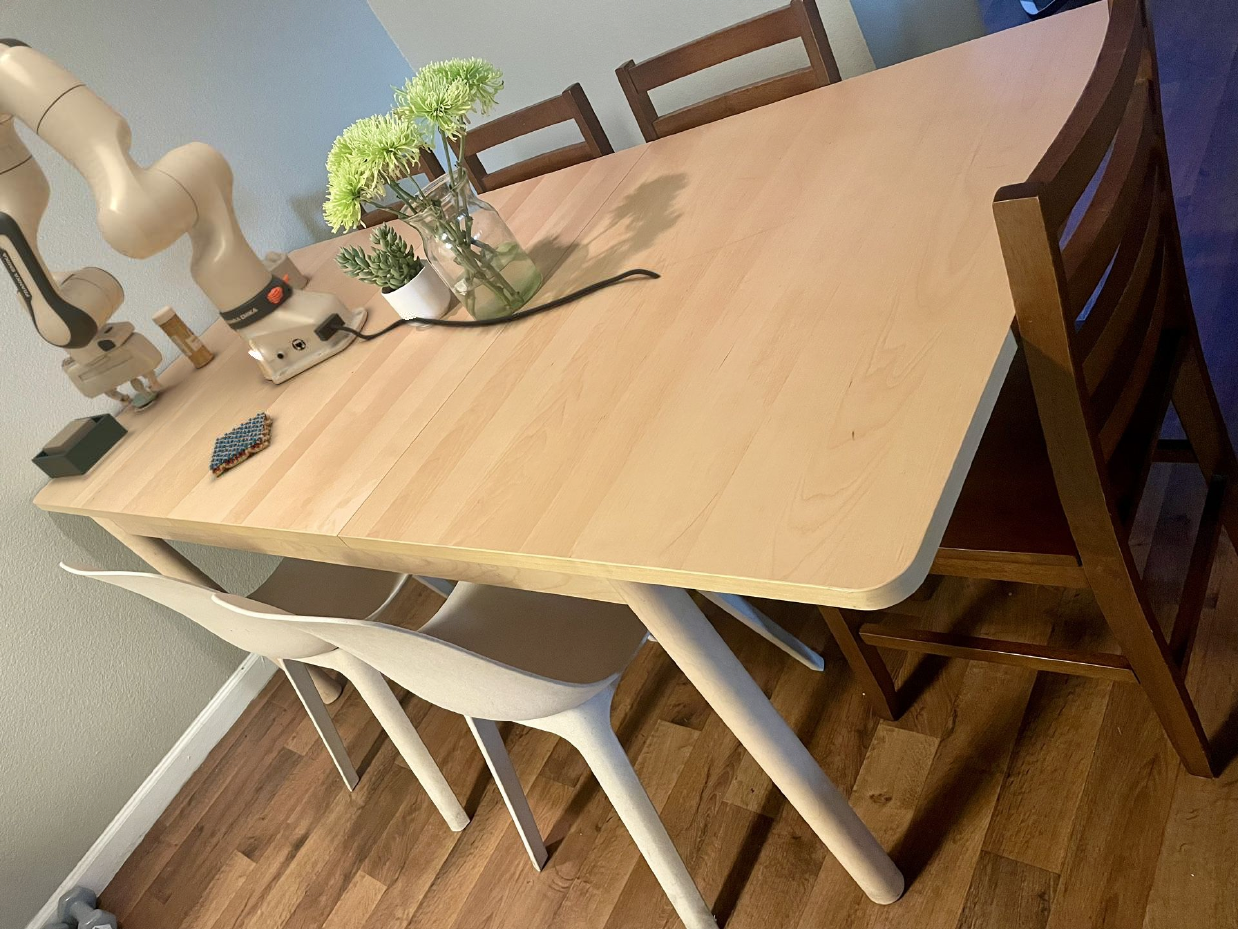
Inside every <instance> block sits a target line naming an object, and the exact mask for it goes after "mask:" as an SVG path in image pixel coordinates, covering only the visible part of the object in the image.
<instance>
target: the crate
mask: <svg viewBox="0 0 1238 929" xmlns="http://www.w3.org/2000/svg"><path fill="white" fill-rule="evenodd" d="M85 418H91V419H92V420H93V421H94V422H95V423H96V424H95V425H94V426H93V427H92V428H91V429H90V430H89V431H88V432H87V433H86V434H85V435H84V436H83V437H82V438H81V439H80V440H78V441H77V442H76V443H75V444H74V445H73V446H72V447H71V448H70V449H69V450H68V451H67V452H66V453H65V454H59V455H52V456H49V455H48V454H47V453H46V452H44V451H43V450H42V449H41V451H39V452H38V453H37V454H36V455H35V456H34V457H33V458H32V459H30V460H31V462H32V464H34V465H35V466H36V467H37V468H39V469H40V470H41V471H42V472H44V474H46V475H47V476H48V477H49V478H50V479H58V478H59V479H60V478H66V477H67V478H68V477H76V476H84V475H86V474H87V473H88V472H89V471H90V470H91V469H92V468H93V467H94V466H95V465H96V464H97V463H98V462H99V461H100V460H101V459H102V458H103V457H104V456H105V455H106V454H107V453H108V452H109V451H110V450H111V449H112V448H113V447H114V446H115V445H116V444H117V443H118V442H119V441H121V440H122V438H123V437H125V435H127V434H128V432H129V431H128V430H127V429H126V428H125V427H124V426H123V425H122V424H121V423H120V422H119V421H118V420H117V418H115V417H114V416H113V414H111V413H110V412H107V413H101V414H97V415H96V414H95V415H91V416H90V415H89V416H86V417H85V416H84V417H80V418H76V419H74V420H73V421H75V420H80V419H85Z"/></svg>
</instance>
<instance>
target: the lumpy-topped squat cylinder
mask: <svg viewBox="0 0 1238 929" xmlns="http://www.w3.org/2000/svg"><path fill="white" fill-rule="evenodd" d="M260 260H261V259H260ZM261 262H262V263H263V264H264V266H265V267H266V268H267V269H268V271H269V272H270V273H271V274H273V275H275V276H277V277H279V278H280V279H283V278H284V276H285V275H286V274H288V277H287V280H288V279H289V278H290V277H291V279H290V280H289V282H288V284H289V285H291V286H292V287H293V289H298V290H303V289H304V287H305V286H306V285H307V284H308V282H307V280H308V279H307V278H305V276H304V274H302V272H301V271H300V270H299V268H298V267H297V266H296V264H295V263H294V262H293V261H292V259H291V258H290V257H289V256H288V254H287V253H285V252H276V251H274V250H269V251H268V252H266V253H265V254H264V258H263V259H262V260H261Z"/></svg>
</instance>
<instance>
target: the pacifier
mask: <svg viewBox="0 0 1238 929" xmlns="http://www.w3.org/2000/svg"><path fill="white" fill-rule="evenodd" d="M129 383H130V386H131V387H132V389H133V390H134V391H135V392H137V394H136V395H135V396H133V398H132V399H133V401H132V402H131V404H132V405H133V406H134V407H135V408H134V412H135V413H136V412H140V411H143V410H145V409H146V408H147V409H148V407H150V406H151V405H153V403H154V402H155V399H156V397H157V396H158V394H159V393H160V390H161V389H160V390H159V391H157V392H155V393H153V392H152V391H148V390H147V389H146V388H145V384H144V383H143V380H141V379H139V377H137V378H135V379H133V380H131V381H129ZM147 404H148V405H147ZM145 405H146V406H145ZM143 406H144V407H143ZM140 407H142V408H140ZM138 408H140V409H138Z"/></svg>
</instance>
